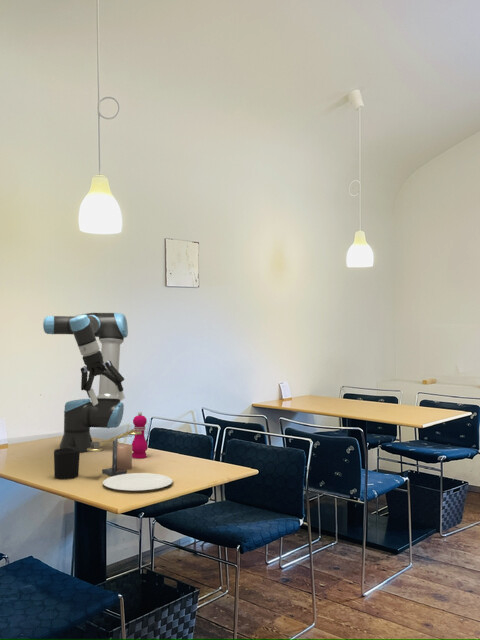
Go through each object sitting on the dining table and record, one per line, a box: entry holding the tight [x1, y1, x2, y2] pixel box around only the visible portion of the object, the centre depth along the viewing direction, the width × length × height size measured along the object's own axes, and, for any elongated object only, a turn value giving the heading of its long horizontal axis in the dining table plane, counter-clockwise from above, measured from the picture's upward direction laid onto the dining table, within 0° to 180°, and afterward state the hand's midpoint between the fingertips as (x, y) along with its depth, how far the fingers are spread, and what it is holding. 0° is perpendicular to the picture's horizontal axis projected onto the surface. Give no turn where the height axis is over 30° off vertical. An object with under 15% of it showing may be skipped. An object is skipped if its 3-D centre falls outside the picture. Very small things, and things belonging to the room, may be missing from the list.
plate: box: [102, 472, 173, 492], centre depth 215 cm, size 25×25×2 cm
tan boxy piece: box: [117, 443, 133, 471], centre depth 241 cm, size 8×8×9 cm
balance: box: [87, 428, 142, 477], centre depth 231 cm, size 8×23×16 cm, turn 134°
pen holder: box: [53, 448, 81, 480], centre depth 225 cm, size 9×9×10 cm
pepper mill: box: [131, 411, 149, 460], centre depth 262 cm, size 7×7×20 cm
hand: (109, 402), depth 241 cm, fingers open, 13 cm apart
